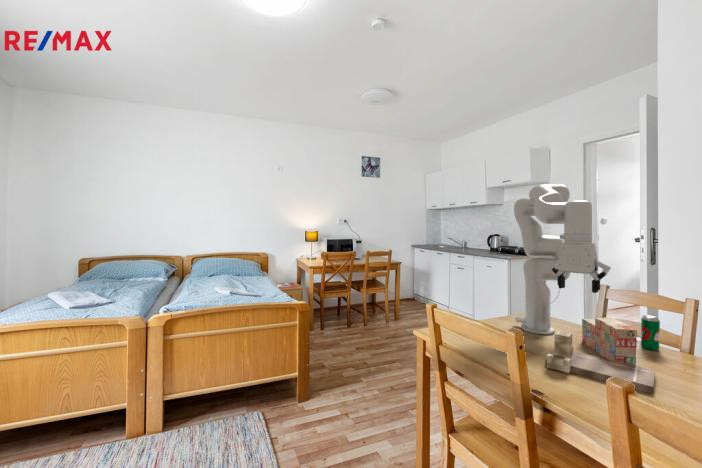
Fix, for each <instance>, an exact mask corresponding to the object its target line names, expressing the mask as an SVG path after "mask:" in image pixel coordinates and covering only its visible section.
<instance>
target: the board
mask: <svg viewBox="0 0 702 468" xmlns="http://www.w3.org/2000/svg"><path fill="white" fill-rule="evenodd" d="M555 353H556V352H554V349H553V350H552V351H551V352H550V354H552V355H554V354H555ZM569 359H570V372H569V373H573V374H577V375H580V376H584V377H587V378H588V377H589V378H592V379H595V380H598V381H602V380H603V381H602V382H606V380H607V379H608V378H610V377H612V376H617V377H620V378H623V379H626V380H628V381H631V382H632V383H633V384H634V385H635V389H634V390H637V391H639V392H644V393H647V394H651V395H653V394H654V390H655V381H656V380H655V379H656V369H651V368H648V367H643V366H639V365H636V366H635V365H631V364H626V363H622V362H617V361H613V360H609V359H607V358H605V357H598V356H596V355H590V354H587V353H582V352H578V351H574V350H573V353H572V355H571V356H570V357H569ZM545 366H547V357H546V358H545Z"/></svg>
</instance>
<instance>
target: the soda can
mask: <svg viewBox="0 0 702 468" xmlns="http://www.w3.org/2000/svg"><path fill="white" fill-rule="evenodd" d="M640 321H641V322H640V347H641V349H644V350H647V351H650V352H658V351H659V350H660V343H661V341H660V336H661V335H660V333H661V329H660V328H661V320H660V319H659V317H657V316H654V315H649V314H648V315H642V317H641V319H640Z"/></svg>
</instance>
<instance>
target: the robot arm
mask: <svg viewBox="0 0 702 468" xmlns="http://www.w3.org/2000/svg"><path fill="white" fill-rule="evenodd" d="M570 193H571V192H570V189H569V188H568V187H567V185H564V184H561V183H560V184H559V183H558V184H557V183H556V184H539V185H535V186H533V187H531V189H530V190H529V193H528V197H523V198H520V199H517V200H516V201H515V202H514V204H513V214H514V217H515V218H514V219H515V220H516V222H517V225H518V227H519V229H520V233H521V241H522V246H523V250H524V253H525V255H526V256H528V257H534V258H529V259H527V260H525V261H524V263H523V266H522V267H523V268H522V269H523V275H524V282H525V283H524V287H525V298H524V299H525V302H524V303H525V311H524V313H525V314H524V317H521V316H520V317H519V316H515V317H514V318H515V322H516V323H521V326H520V327H521V329H522V330H523V331H525V332H528V333H530V334H531V333H532V334H536V335H552V334H555V328H554V327H552V326H551V301H552V300H551V290H550V287H549V286H548V285H547V284H546V282H545V281H557V286H558V289H564V288H565V287H566V281H568V279H569V278H570V276H571V273H573V274H583V275H588V274H589V276H590V277H592V279H593V280H591V292H592V293H593V294H596V293H599V291H600V290H601V280H602V279H604V278H605V277H606V276H608V273H609V272H610V271H611V266H610V265H607V264H605V263H604V262H601V261H599V260H598V253H597V248H596V243H595V242H593V204H592V202H590V201H589V200H572V201H569V199H570ZM534 217H535V218H536V219H537V220H538V221H539V222H540V223H543V224H548V225H556V224H557V225H561V224H563V225H564V226H563V232H564V233H562V234H560V235H559V236H558V235H557V236H556V235H545V234H544V233H543V228H542V226H541V224H540V223H539V222H538V221H537V220H536V219H535V218H534ZM598 268H601V269H602V271H601V272H600V273H599V272H598Z"/></svg>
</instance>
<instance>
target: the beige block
mask: <svg viewBox="0 0 702 468" xmlns="http://www.w3.org/2000/svg"><path fill="white" fill-rule="evenodd" d="M553 350H554V352H556V353H555V354H554V355H552V354H551V353H548V354H547V355H546V358H547V365H546V368H548V369H552V370H555V371H558V372H562V373H566V374H570V373H571V372H570V359H569V357H570V356H571V355H572V353H573V351H574V346H573V332H569V331H564V330H557V331H556V332H554V348H553Z"/></svg>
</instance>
